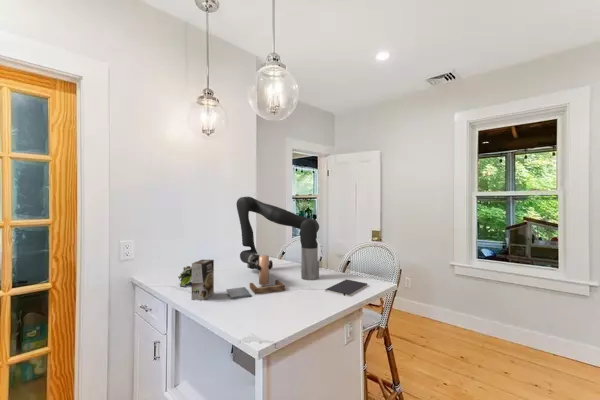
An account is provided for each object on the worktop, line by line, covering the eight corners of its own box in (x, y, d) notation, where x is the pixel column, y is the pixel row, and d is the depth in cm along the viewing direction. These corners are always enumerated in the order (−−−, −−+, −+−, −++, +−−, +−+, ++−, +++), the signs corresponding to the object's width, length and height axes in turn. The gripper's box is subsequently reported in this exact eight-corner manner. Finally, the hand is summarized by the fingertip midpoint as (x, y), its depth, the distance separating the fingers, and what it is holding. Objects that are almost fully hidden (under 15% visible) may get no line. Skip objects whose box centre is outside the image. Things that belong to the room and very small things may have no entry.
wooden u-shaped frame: (277, 284, 150) (277, 279, 150) (285, 290, 140) (285, 285, 140) (249, 288, 144) (249, 283, 144) (255, 294, 134) (255, 289, 134)
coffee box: (204, 300, 126) (204, 263, 126) (190, 299, 128) (190, 263, 127) (214, 293, 135) (214, 259, 135) (201, 292, 136) (201, 258, 136)
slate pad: (244, 288, 142) (244, 286, 142) (250, 296, 131) (250, 294, 131) (226, 291, 139) (226, 289, 139) (230, 299, 128) (230, 297, 128)
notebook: (346, 282, 156) (325, 292, 139) (346, 279, 156) (325, 289, 139) (368, 286, 148) (349, 297, 131) (368, 283, 148) (349, 294, 131)
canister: (267, 281, 150) (267, 254, 150) (270, 284, 146) (270, 256, 145) (257, 282, 148) (257, 255, 148) (260, 285, 144) (260, 257, 143)
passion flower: (186, 292, 153) (193, 271, 160) (202, 291, 149) (208, 269, 156) (170, 285, 145) (178, 263, 152) (186, 283, 141) (194, 261, 148)
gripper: (243, 255, 157) (251, 261, 142) (268, 253, 163) (278, 259, 148) (243, 269, 157) (251, 276, 142) (268, 266, 163) (278, 273, 148)
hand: (265, 267), depth 145 cm, fingers closed on canister, 5 cm apart
